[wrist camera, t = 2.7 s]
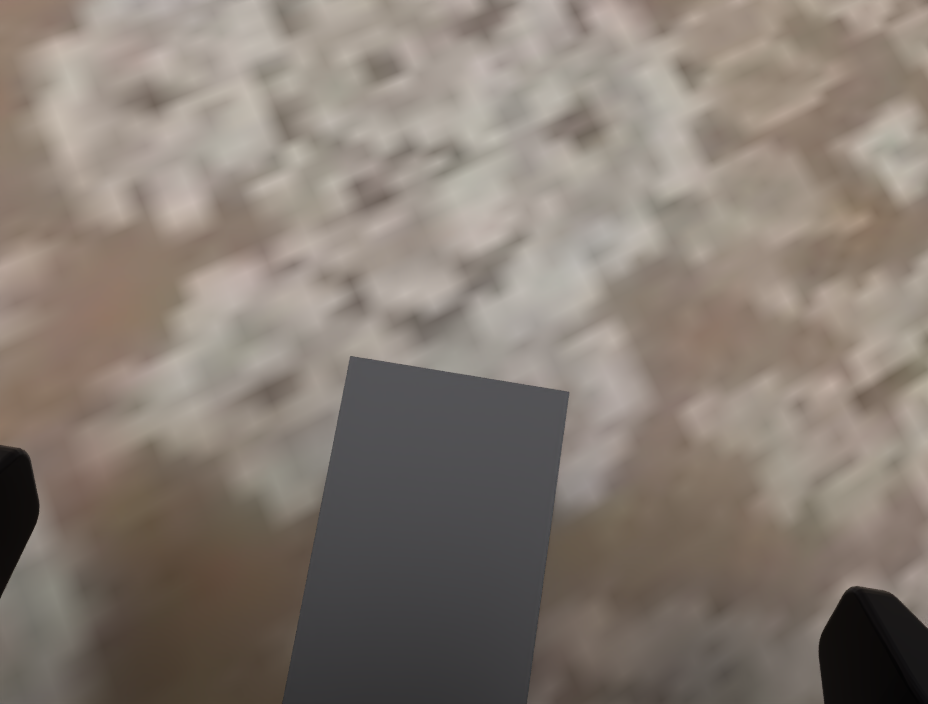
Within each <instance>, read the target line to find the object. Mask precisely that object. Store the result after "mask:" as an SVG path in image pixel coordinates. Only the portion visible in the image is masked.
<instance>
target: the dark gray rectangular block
mask: <svg viewBox="0 0 928 704" xmlns="http://www.w3.org/2000/svg"><path fill="white" fill-rule="evenodd" d="M568 398H569V392H567V391H561V390H554V389H548V388H542V387H536V386H530V385H524V384H518V383H512V382H506V381H500V380H493V379H487V378H481V377H475V376H469V375H463V374H457V373H451V372H445V371H439V370H433V369H426V368H420V367H414V366H408V365H402V364H396V363H390V362H384V361H378V360H372V359H365V358H359V357H353V356H350V360H349V365H348V370H347V376H346V381H345V386H344V391H343V396H342V401H341V406H340V411H339V416H338V422H337V427H336V432H335V437H334V442H333V447H332V452H331V457H330V462H329V467H328V473H327V478H326V483H325V488H324V493H323V498H322V503H321V508H320V513H319V519H318V524H317V529H316V534H315V539H314V544H313V549H312V554H311V559H310V564H309V570H308V575H307V580H306V585H305V590H304V595H303V600H302V605H301V610H300V616H299V621H298V626H297V631H296V636H295V641H294V646H293V651H292V656H291V662H290V667H289V672H288V677H287V682H286V687H285V692H284V697H283V702H282V704H527V697H528V690H529V682H530V675H531V668H532V661H533V653H534V646H535V639H536V631H537V624H538V617H539V610H540V602H541V595H542V588H543V580H544V573H545V566H546V558H547V551H548V544H549V537H550V529H551V522H552V515H553V507H554V500H555V493H556V485H557V478H558V471H559V464H560V456H561V449H562V442H563V434H564V427H565V420H566V413H567V405H568Z"/></svg>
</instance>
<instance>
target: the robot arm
mask: <svg viewBox="0 0 928 704" xmlns="http://www.w3.org/2000/svg"><path fill="white" fill-rule="evenodd" d="M38 515H39V498H38V493H37V489H36V484H35V479H34V474H33V469H32V464H31V460H30V457H29V455H28V454H27V452H26V451H25V450H22V449H21V448H15V447H9V446H3V445H0V598H1V596H2V594H3V592H4V589H5V587H6V585H7V583H8V581H9V579H10V577H11V575H12V573H13V571H14V569H15V567H16V565H17V563H18V561H19V558H20V556H21V554H22V552H23V550H24V548H25V546H26V544H27V542H28V540H29V538H30V536H31V534H32V532H33V530H34V527H35V525H36V523H37V519H38ZM819 663H820V671H821V680H822V688H823V696H824V704H928V628H927V627H926V626H925V625H924V624H923V623H922V622H921V621H920V620H919V619H918V618H917V617H916V616H915V615H914V614H913V613H912V612H911V611H910V610H909V609H908V608H907V607H906V606H905V605H904V604H903V603H902V602H901V601H900V600H899V599H898V598H897V597H895V596H894V595H893V594H891V593H890V592H887V591H884V590H878V589H872V588H866V587H859V586H854V587H851V588H849V589H848V590H846V592H845V593H844V594H843V596H842V598H841V599H840V601H839V603H838V605H837V607H836V608H835V610H834V612H833V614H832V615H831V617H830V619H829V621H828V623H827V624H826V626H825V628H824V630H823V632H822V634H821V637H820V641H819Z"/></svg>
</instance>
